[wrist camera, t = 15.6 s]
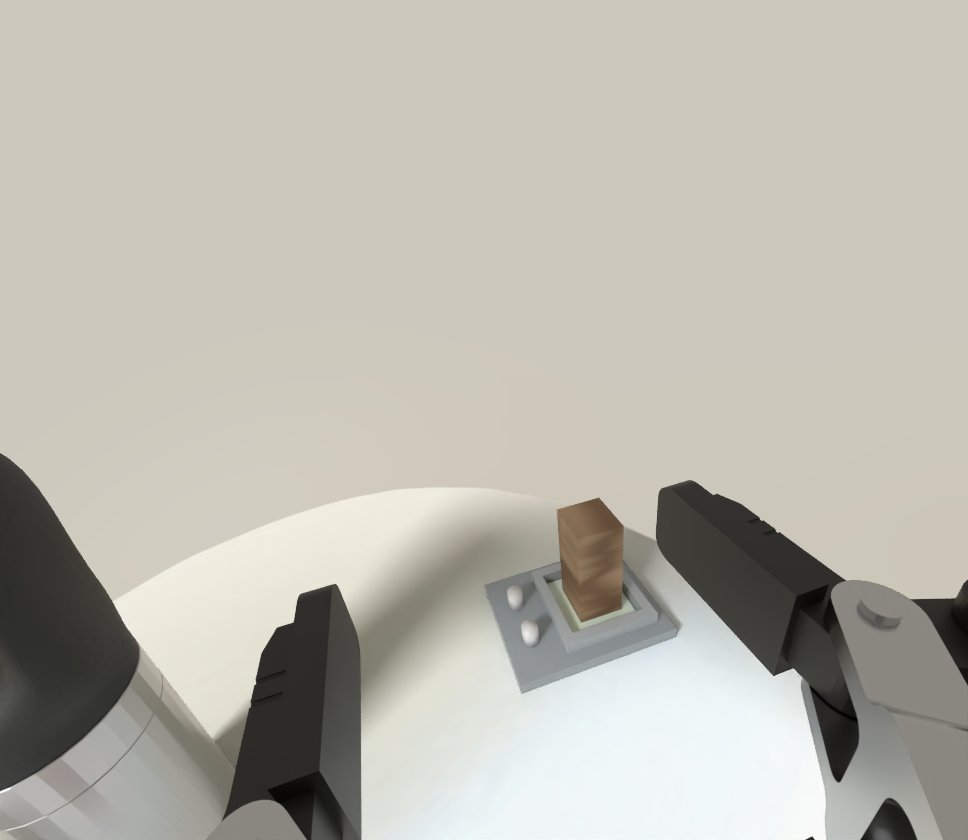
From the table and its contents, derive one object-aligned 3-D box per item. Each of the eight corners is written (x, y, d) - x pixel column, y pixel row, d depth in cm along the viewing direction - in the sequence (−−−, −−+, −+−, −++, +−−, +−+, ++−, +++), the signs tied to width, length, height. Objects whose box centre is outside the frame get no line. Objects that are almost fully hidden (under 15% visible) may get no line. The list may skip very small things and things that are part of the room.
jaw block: (581, 622, 42) (577, 539, 38) (562, 588, 46) (557, 509, 41) (621, 609, 43) (623, 526, 38) (599, 576, 47) (598, 497, 42)
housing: (521, 693, 38) (518, 671, 37) (486, 592, 49) (482, 572, 47) (676, 636, 41) (678, 614, 40) (611, 552, 52) (611, 532, 50)
